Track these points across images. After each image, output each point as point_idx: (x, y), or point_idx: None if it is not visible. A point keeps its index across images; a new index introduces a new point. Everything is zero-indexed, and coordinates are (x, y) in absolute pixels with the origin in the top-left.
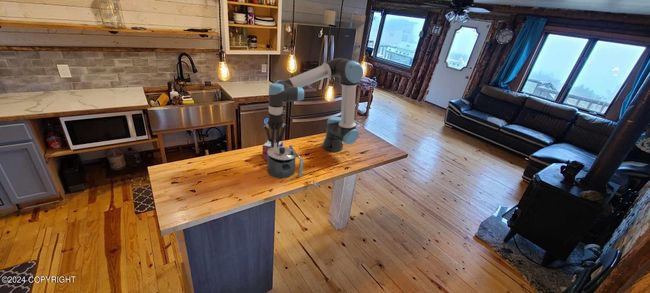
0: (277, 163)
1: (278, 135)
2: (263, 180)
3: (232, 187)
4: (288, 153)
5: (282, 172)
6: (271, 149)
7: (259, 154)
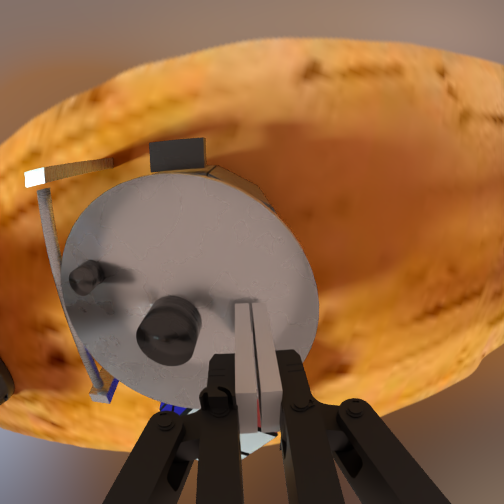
0: (247, 192)
1: (208, 502)
2: (326, 174)
3: (455, 169)
4: (118, 288)
5: (210, 167)
6: None
7: None
